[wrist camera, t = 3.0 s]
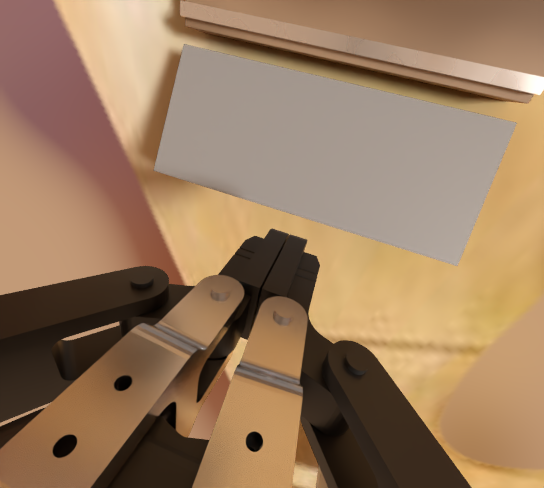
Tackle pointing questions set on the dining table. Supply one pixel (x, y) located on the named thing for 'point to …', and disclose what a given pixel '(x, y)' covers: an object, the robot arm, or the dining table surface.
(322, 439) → the robot arm
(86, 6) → the dining table surface
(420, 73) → the glossy brown slab
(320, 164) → the slate plank
